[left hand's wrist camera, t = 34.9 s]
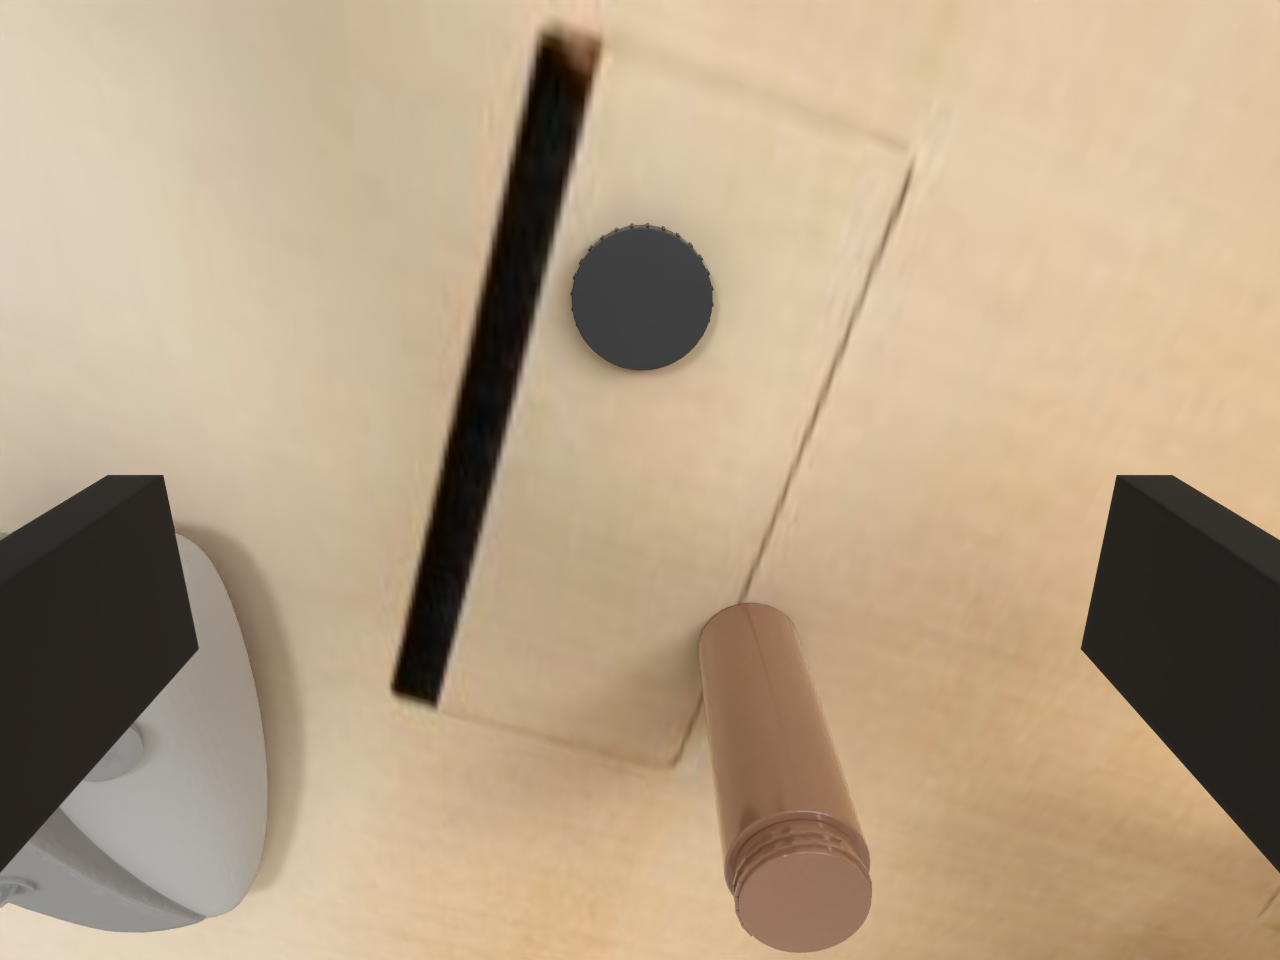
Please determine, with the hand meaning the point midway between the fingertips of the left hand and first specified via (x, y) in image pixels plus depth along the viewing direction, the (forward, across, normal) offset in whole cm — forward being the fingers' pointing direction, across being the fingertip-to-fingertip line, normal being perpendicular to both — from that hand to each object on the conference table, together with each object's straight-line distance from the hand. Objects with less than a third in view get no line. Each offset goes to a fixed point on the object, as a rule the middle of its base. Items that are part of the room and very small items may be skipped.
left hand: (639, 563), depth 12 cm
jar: (+27, +5, -18) cm, 33 cm away
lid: (+25, 0, 0) cm, 25 cm away
